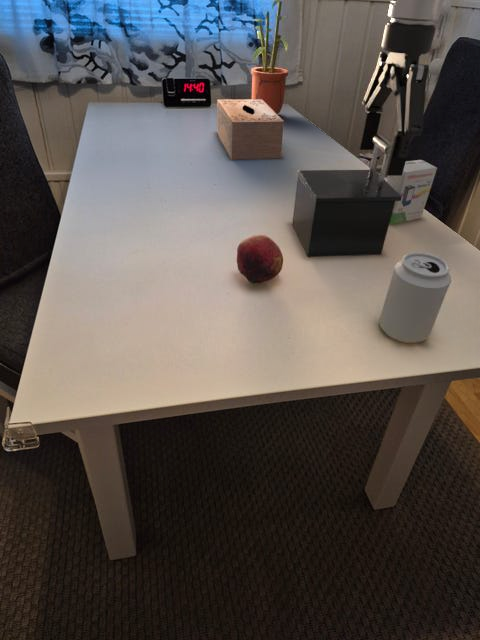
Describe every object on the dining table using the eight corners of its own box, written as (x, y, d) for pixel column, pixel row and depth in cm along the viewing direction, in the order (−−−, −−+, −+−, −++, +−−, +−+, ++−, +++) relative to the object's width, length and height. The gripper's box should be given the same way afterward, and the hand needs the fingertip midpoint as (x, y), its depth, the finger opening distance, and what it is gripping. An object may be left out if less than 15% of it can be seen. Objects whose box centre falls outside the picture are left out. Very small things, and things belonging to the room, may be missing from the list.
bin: (357, 223, 96) (368, 173, 89) (381, 254, 86) (395, 201, 79) (292, 224, 94) (298, 174, 88) (307, 257, 84) (315, 202, 77)
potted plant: (291, 116, 165) (303, 0, 143) (264, 123, 156) (272, 1, 134) (256, 107, 174) (262, -3, 153) (228, 113, 165) (230, -3, 144)
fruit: (283, 272, 79) (288, 231, 74) (276, 296, 73) (281, 253, 68) (241, 265, 80) (242, 225, 76) (230, 288, 75) (232, 246, 70)
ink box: (406, 210, 102) (421, 158, 95) (422, 219, 99) (438, 166, 91) (376, 215, 99) (389, 162, 92) (391, 225, 96) (406, 171, 89)
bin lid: (373, 173, 90) (383, 128, 84) (400, 201, 79) (414, 151, 74) (298, 174, 88) (303, 128, 82) (315, 202, 77) (323, 152, 72)
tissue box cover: (280, 158, 128) (284, 121, 121) (231, 159, 125) (232, 122, 119) (260, 132, 147) (262, 99, 141) (217, 133, 145) (217, 99, 139)
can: (432, 350, 64) (461, 280, 57) (379, 342, 65) (400, 273, 58) (424, 318, 70) (449, 251, 63) (376, 312, 71) (395, 245, 63)
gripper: (360, 13, 77) (338, 140, 90) (425, 30, 58) (385, 187, 71) (401, 15, 78) (373, 140, 91) (478, 32, 59) (429, 187, 72)
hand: (378, 161), depth 81 cm, fingers open, 13 cm apart
